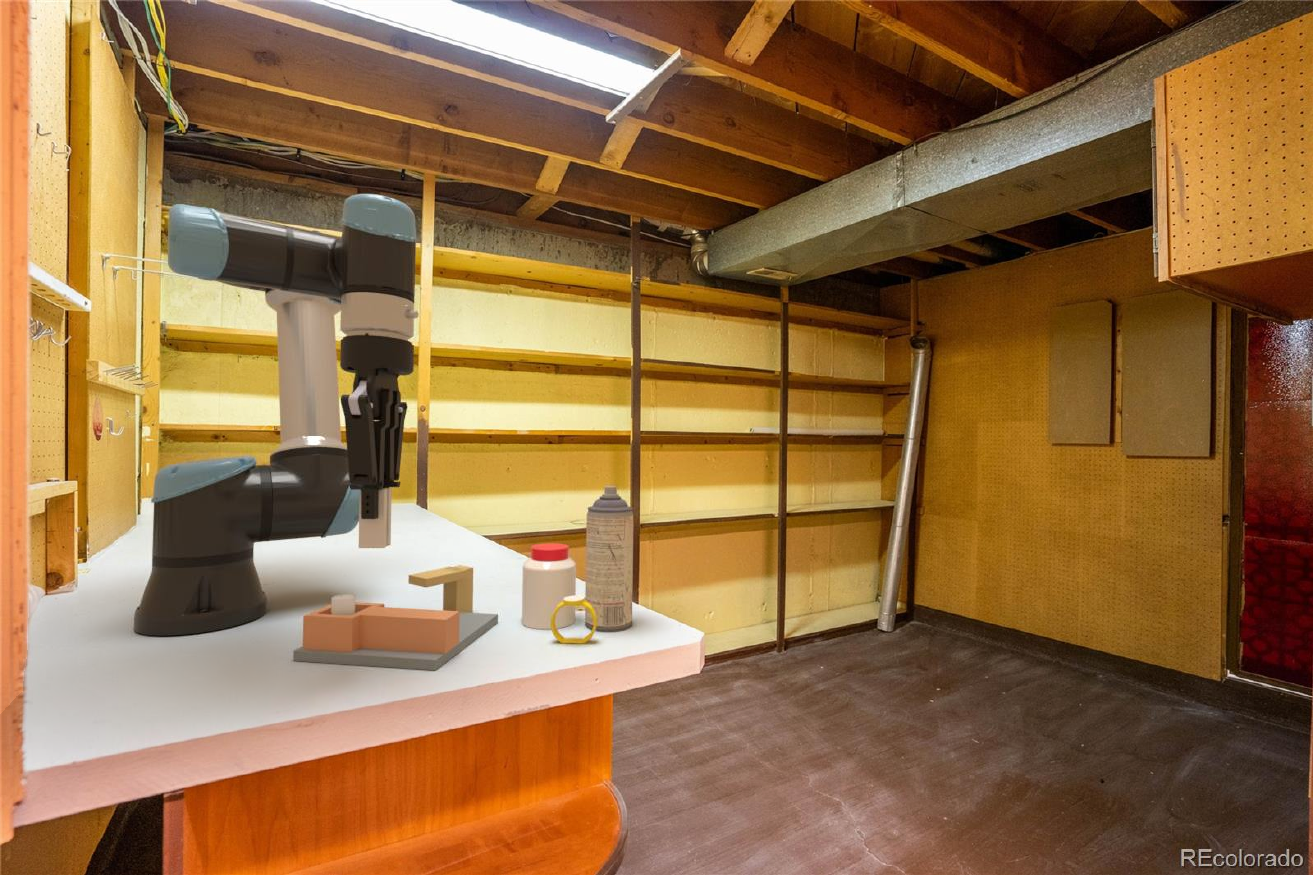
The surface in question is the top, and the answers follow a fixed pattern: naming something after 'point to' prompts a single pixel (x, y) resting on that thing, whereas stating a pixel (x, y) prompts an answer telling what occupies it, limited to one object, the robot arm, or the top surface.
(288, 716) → the top surface
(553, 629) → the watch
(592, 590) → the aerosol can
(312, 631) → the link
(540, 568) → the pill bottle
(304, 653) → the board
